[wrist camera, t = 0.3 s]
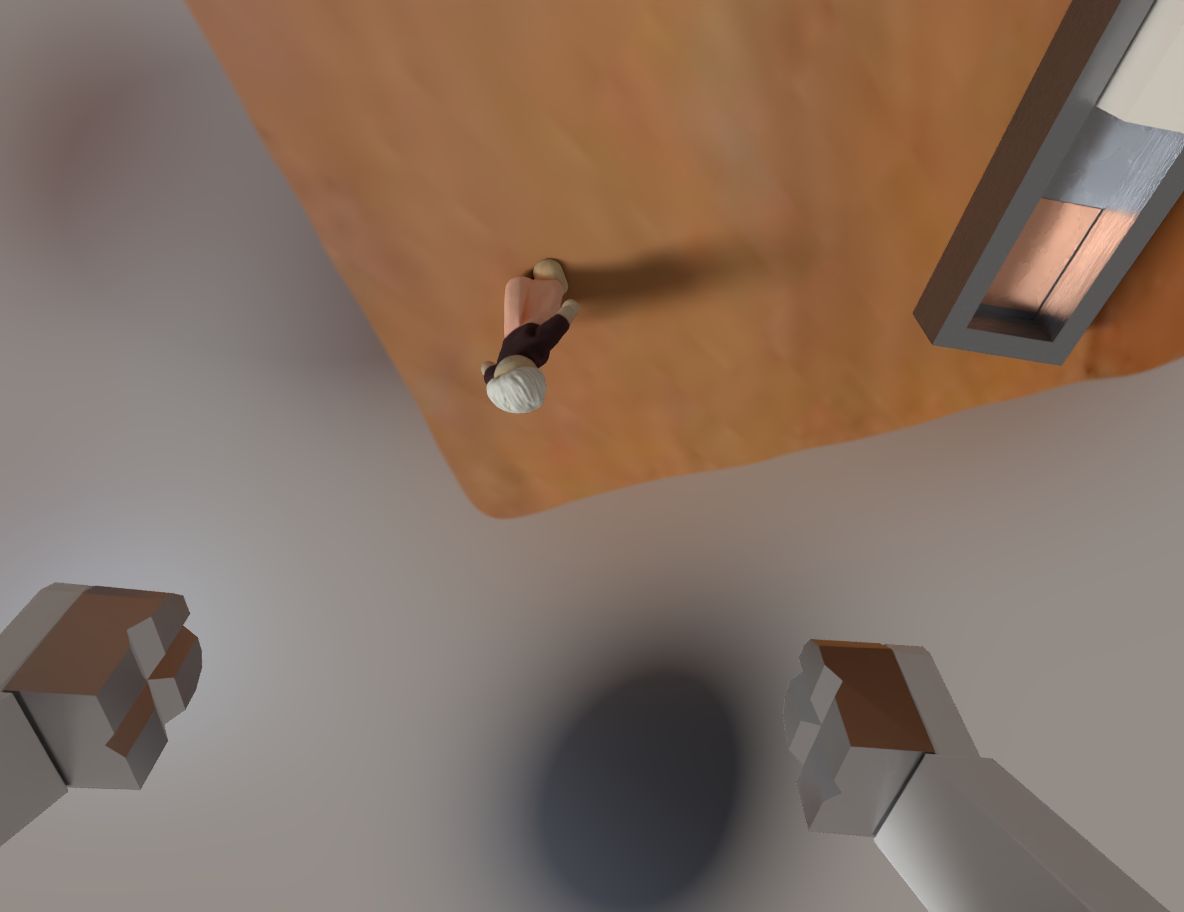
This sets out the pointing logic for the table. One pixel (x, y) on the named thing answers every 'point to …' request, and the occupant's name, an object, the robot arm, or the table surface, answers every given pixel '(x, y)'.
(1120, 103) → the block
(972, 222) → the chute
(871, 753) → the robot arm
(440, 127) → the table surface
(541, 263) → the grandmother figurine
